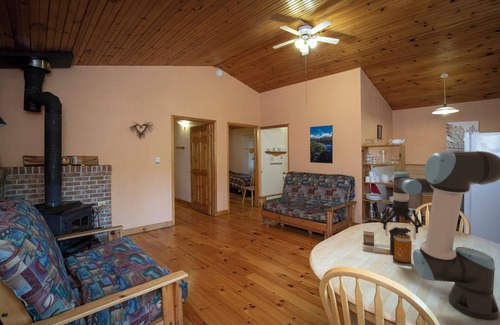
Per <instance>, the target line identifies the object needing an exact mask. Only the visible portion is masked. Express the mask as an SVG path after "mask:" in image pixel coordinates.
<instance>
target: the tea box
mask: <svg viewBox="0 0 500 325" xmlns="http://www.w3.org/2000/svg"><path fill="white" fill-rule="evenodd" d="M362 236H363V237H362V238H363V241H362V242H363V243H362V246H363V245H366V246H374V244H375V232H374V231H367V230H364V231H363V234H362Z"/></svg>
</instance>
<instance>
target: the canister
mask: <svg viewBox="0 0 500 325" xmlns="http://www.w3.org/2000/svg"><path fill="white" fill-rule="evenodd" d="M388 233H389V236H390V237H389V245H390V252H389V253H390V254H389V255H391V256H392V260H393V261H394V262H396V263H398V264H401V265H402V264H403V265H411V264H412V253H413V251H412V249H413V248H412V246H413V244H412V243H413V242H412V240H411V239H412V238H411V235H409V234H408V233H411V230H410V229H409V228H407V227H397V226H395V227H393V228H391V229H390V230H388Z"/></svg>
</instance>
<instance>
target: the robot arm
mask: <svg viewBox="0 0 500 325" xmlns="http://www.w3.org/2000/svg"><path fill="white" fill-rule="evenodd" d="M424 176H425V177H424V178H411V177H410V173H409V172H407V171H406V172H404V171H403V172H402V171H396V172H394V173H393V178H392V179H393V182H392V183H393V189H392V190H393V191H392V199H393V200H392V207H389V206H387V207H386V210H385V211H384V213H383V215H382V216H381V218H380V219H379V223H380V224H382V225H383V228H382V229H383V230H384V231H385V232H384V233H385V234H384V235H385V237H388V223H389V222H391V221H392V219H393V218H396V217H397V218H398V217H402V218H405V217H406V218H407V219H408V220H409V221H410V222H411V223H412V224H413V227H412V238H413V240H416V239H417V238H416V237H417V236H416V234H419V228H422V227H423V225H422V222H421V220H420V219H419V217H418V215H417V212H416V209H414V208H412V209H410V204H409V203H410V201H409V199H410V195H413V196H414V195H418V194H432V199H431V205H430V212H429V219H428V226H427V232H426V238H425V241H423V242H421V243H420V247H419V249H418V248H417V249H414V250H413V251H412V260H413V261H412V262H413V265H414V268H415V270H416V272H417V274H418V275H419V277H420V278H421V279H423V280H426V281H432V282H435V281H436V282H449V283H454V284H453V285H452V287H451V289H450V292H449V294H448V302H449V305H451V307H453V308H454V309H456V310H457V311H459V312H460V313H463V314H465V315H467V316H470V317H473V318H476V319H480V320H485V321H486V320H487V321H492V320H493V321H495V320H497V319H499V317H500V308H499V306H498V303H497V301H496V297H495V296H494V295H495V294H494V287H495V270H496V265H495V260H494V259H493V257H492V256H491V255H489V254H487V253H485V252H483V251H480V250H477V249H474V248H471V247H465V246H456V247H455V249H454V242H455V236H456V231H457V227H458V226H457V225H458V221H459V217H460V210H461V208H462V202H463V195H464V194H467V193H468V192H470V188H471V186H472V185H473V186H474V185H483V186H484V185H488V184H493V183H496V182H497V181H500V156H499V155H497V154H494V153H493V152H489V151H483V150H481V151H480V150H476V151H475V150H474V151H451V150H448V151H439V152H438V151H437V152H435V153H433V154H432V155H430V156H429V157H428V158H427V160H426V163H425V165H424ZM390 212H392V213H391V215H389V213H390ZM409 213H411V214H412V216H413V217H414V219H415V220H413V218H412V217H410V215H409ZM388 215H389V216H388ZM387 216H388V217H387ZM415 221H416V222H417V223H416V222H415Z"/></svg>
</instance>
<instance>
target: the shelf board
mask: <svg viewBox="0 0 500 325" xmlns="http://www.w3.org/2000/svg"><path fill="white" fill-rule="evenodd" d="M361 243H362V251H364V252H365V251H366V252H371V253H373V252H374V253H379V254H380V253H381V254H389V255H391V254H390V253H389V252H390V244H389V245H388V244H381V243H380V244H379V243H374V246H366V245H363V241H362V242H361Z"/></svg>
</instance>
